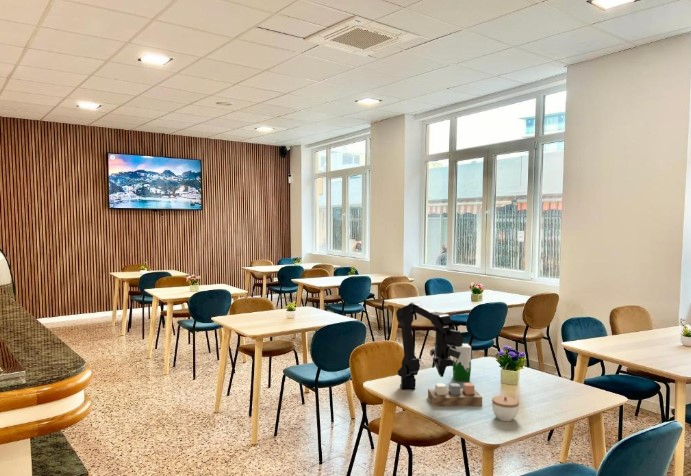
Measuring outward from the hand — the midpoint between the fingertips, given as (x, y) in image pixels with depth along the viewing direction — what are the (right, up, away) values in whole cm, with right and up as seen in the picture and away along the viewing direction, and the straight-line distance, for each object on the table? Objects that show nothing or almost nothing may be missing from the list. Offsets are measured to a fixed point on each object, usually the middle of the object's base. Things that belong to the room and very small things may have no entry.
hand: (441, 375), depth 221 cm
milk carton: (+17, -11, +33) cm, 39 cm away
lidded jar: (+24, -13, -17) cm, 32 cm away
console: (+6, -12, +1) cm, 14 cm away
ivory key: (0, -8, 0) cm, 8 cm away
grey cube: (+6, -8, +1) cm, 10 cm away
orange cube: (+13, -8, +1) cm, 15 cm away
